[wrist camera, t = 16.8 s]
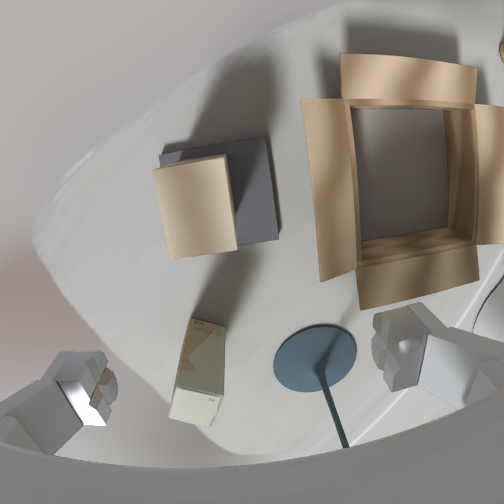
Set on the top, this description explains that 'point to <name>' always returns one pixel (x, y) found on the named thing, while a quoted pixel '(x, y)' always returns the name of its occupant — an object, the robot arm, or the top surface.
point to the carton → (459, 178)
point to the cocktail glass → (316, 364)
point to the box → (200, 374)
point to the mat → (244, 186)
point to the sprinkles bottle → (502, 51)
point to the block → (197, 206)
